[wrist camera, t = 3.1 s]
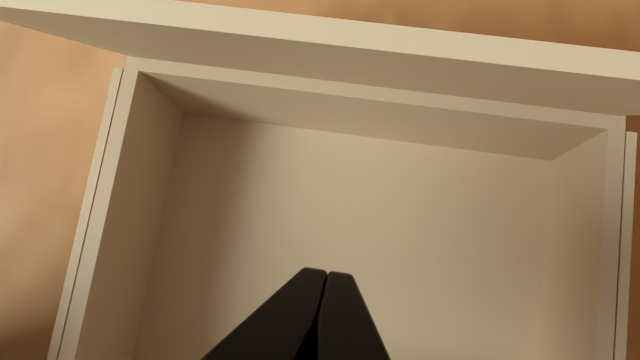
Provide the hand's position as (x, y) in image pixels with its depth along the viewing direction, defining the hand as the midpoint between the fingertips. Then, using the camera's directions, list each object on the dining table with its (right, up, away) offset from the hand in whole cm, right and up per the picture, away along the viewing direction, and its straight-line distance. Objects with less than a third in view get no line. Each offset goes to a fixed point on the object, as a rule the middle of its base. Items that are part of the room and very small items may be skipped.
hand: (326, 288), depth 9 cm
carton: (+1, -2, +12) cm, 12 cm away
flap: (+1, +5, +7) cm, 9 cm away
